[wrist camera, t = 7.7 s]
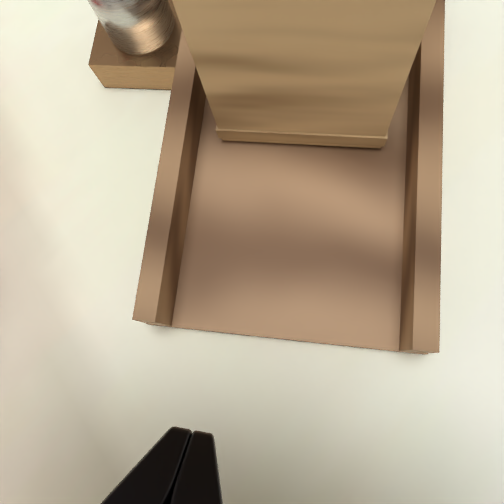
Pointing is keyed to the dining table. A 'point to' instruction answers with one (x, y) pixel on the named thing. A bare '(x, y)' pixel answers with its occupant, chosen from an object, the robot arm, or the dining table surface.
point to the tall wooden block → (304, 66)
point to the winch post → (135, 43)
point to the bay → (300, 224)
